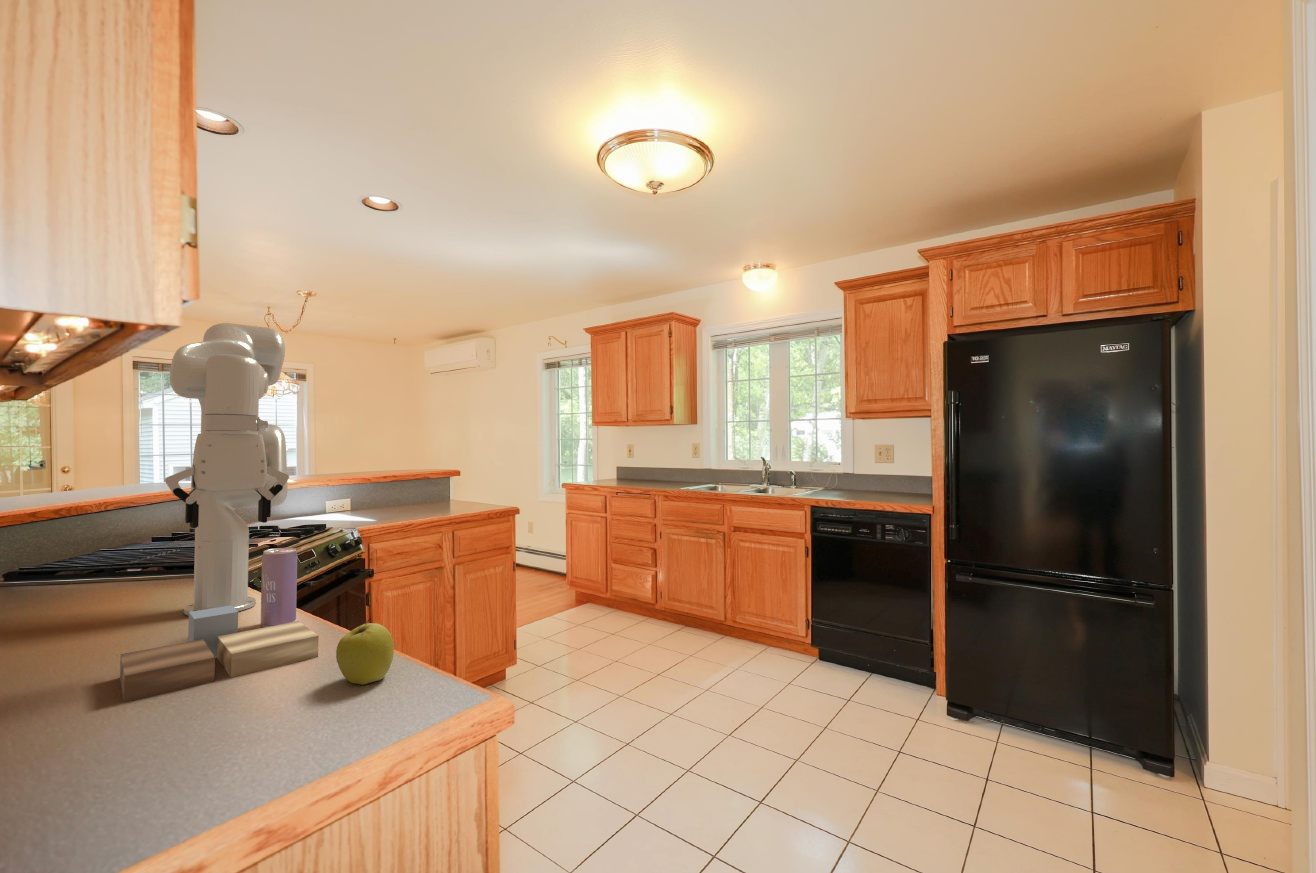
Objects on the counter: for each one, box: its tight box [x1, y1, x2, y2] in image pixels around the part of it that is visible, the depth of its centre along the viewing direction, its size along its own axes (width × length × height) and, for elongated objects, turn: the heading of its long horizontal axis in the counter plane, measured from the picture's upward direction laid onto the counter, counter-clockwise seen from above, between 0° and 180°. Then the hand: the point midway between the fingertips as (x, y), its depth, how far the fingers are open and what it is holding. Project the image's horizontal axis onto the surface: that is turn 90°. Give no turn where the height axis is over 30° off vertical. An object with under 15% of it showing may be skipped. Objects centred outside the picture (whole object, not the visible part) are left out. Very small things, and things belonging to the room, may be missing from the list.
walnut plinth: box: [119, 639, 216, 703], centre depth 86 cm, size 12×10×4 cm
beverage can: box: [260, 547, 298, 628], centre depth 114 cm, size 6×6×15 cm
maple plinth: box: [216, 620, 320, 678], centre depth 96 cm, size 12×12×4 cm
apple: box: [335, 617, 395, 685], centre depth 86 cm, size 8×8×10 cm
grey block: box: [187, 605, 239, 657], centre depth 98 cm, size 6×6×7 cm
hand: (229, 524), depth 97 cm, fingers open, 9 cm apart
